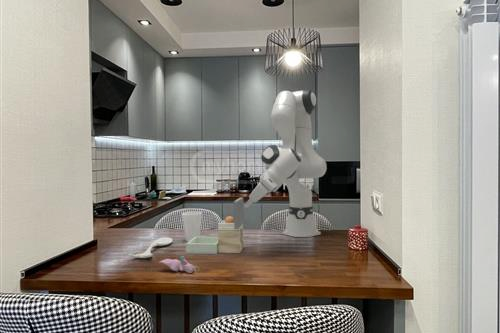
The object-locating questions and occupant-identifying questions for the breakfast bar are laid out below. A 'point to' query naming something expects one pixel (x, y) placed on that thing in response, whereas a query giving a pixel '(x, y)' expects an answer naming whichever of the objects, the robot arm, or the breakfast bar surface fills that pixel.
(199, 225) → the foam cup
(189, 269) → the rabbit figure
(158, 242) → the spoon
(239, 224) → the lever flap
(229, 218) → the ball
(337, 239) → the breakfast bar surface
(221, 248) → the stand
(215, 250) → the tray
